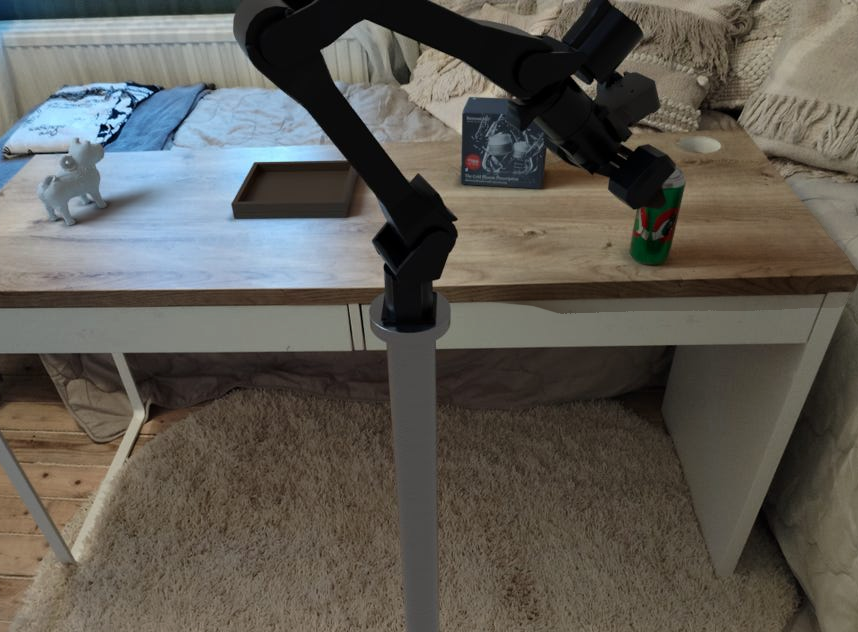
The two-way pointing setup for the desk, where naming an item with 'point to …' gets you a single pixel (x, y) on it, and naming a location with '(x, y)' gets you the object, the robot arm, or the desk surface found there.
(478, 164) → the small box
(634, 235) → the soda can
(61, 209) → the dog figurine
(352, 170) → the tray
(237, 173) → the desk surface
